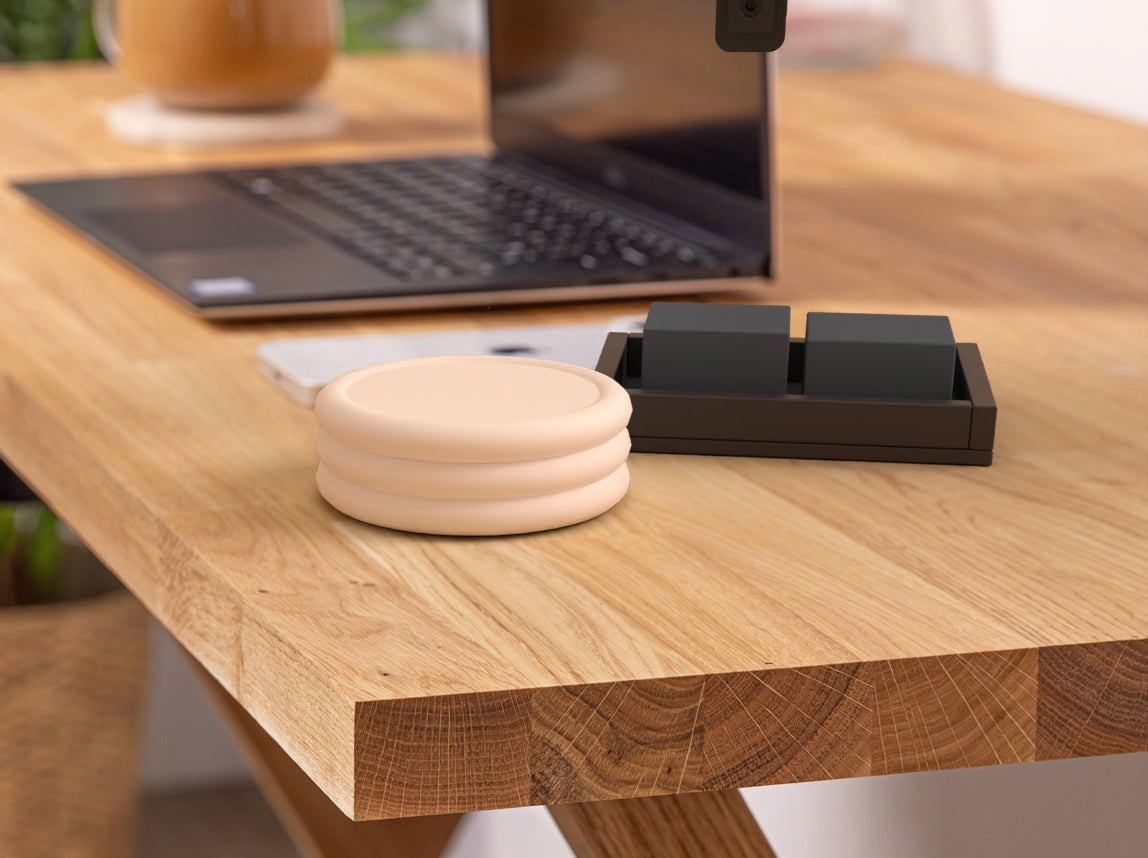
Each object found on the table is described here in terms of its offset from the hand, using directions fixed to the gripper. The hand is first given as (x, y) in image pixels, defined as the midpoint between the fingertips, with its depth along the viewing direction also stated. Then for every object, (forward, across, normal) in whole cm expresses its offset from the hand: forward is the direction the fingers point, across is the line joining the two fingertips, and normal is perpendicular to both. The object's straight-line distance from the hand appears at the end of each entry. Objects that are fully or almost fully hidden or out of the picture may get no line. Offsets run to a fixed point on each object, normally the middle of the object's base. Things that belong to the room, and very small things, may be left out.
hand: (752, 38), depth 76 cm
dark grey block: (+13, 0, +1) cm, 13 cm away
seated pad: (+13, 0, -5) cm, 14 cm away
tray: (+13, 0, -2) cm, 13 cm away
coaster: (+13, -11, +8) cm, 19 cm away
